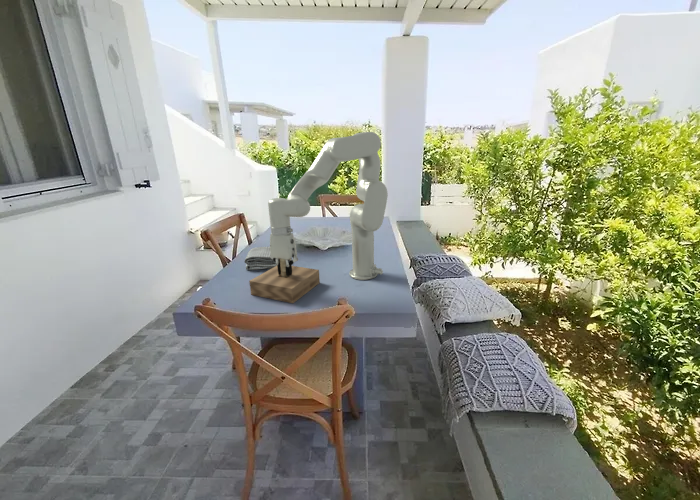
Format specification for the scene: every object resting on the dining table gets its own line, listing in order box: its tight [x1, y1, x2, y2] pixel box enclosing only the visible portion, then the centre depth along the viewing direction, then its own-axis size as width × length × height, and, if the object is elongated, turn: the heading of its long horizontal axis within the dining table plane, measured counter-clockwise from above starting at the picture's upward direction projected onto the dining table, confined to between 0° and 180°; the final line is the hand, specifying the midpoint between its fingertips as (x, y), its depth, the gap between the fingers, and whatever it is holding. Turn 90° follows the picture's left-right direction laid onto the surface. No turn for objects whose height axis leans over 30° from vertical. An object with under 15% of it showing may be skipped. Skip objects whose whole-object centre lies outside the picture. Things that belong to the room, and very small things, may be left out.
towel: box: [244, 246, 277, 271], centre depth 160 cm, size 15×18×8 cm
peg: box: [280, 259, 289, 278], centre depth 131 cm, size 3×3×11 cm
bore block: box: [248, 265, 321, 304], centre depth 132 cm, size 20×20×6 cm
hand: (285, 273), depth 131 cm, fingers closed on peg, 3 cm apart
